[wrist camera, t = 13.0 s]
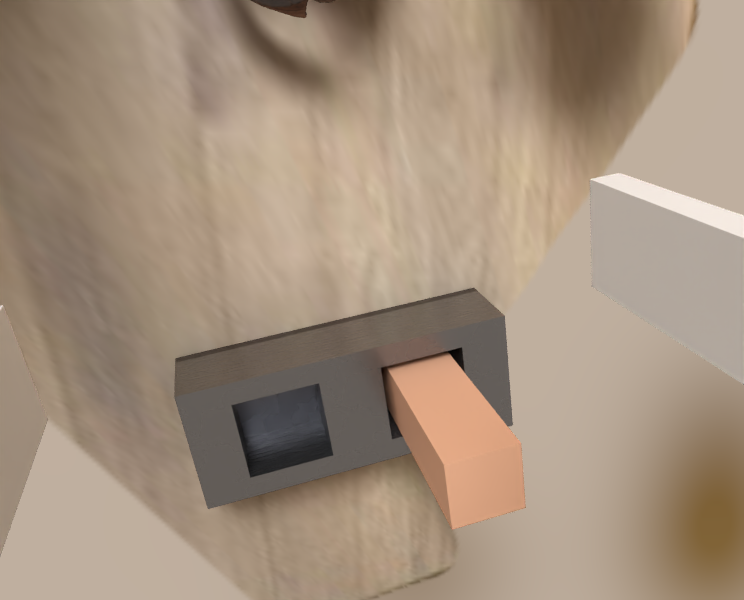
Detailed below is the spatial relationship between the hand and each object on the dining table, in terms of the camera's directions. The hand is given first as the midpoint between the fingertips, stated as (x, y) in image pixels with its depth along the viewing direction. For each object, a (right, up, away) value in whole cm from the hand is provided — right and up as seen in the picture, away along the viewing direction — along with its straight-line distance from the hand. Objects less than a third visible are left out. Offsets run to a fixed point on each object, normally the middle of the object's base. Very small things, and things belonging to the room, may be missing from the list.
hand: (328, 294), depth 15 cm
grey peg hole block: (-1, -5, +31) cm, 32 cm away
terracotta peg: (+3, -4, +32) cm, 32 cm away
